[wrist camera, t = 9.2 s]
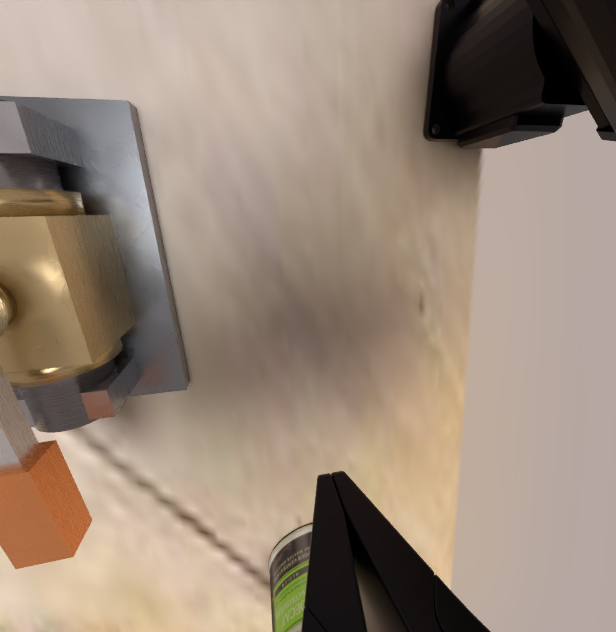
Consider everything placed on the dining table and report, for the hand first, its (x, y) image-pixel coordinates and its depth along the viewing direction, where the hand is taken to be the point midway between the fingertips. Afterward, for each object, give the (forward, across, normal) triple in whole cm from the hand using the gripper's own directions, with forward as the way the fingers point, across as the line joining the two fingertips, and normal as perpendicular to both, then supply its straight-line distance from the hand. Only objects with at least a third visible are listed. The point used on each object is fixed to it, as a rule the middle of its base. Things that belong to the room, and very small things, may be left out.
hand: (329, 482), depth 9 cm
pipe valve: (+12, +12, -5) cm, 18 cm away
